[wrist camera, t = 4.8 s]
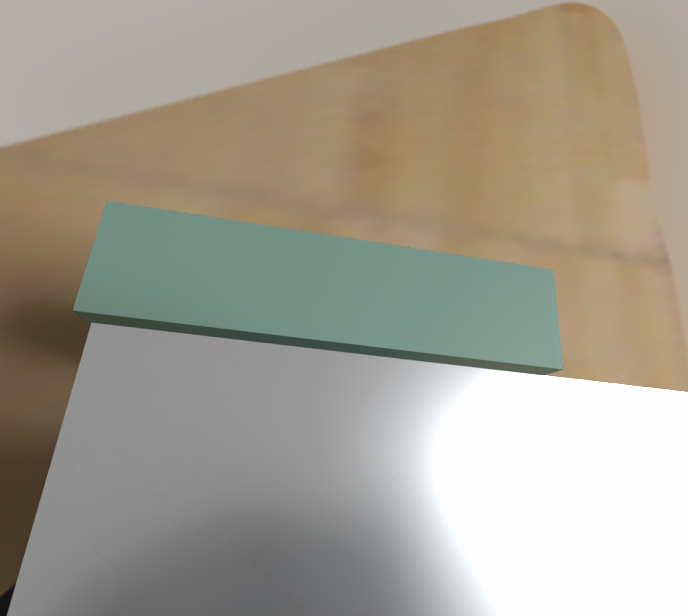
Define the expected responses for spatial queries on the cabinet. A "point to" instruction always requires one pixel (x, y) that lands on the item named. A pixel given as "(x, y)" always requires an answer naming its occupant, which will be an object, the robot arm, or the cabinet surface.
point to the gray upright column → (352, 488)
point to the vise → (317, 292)
